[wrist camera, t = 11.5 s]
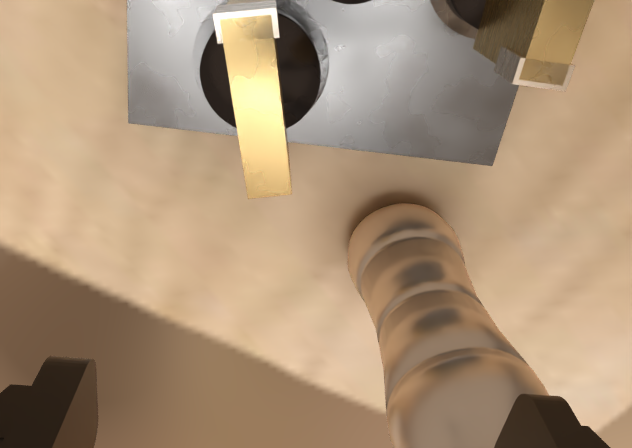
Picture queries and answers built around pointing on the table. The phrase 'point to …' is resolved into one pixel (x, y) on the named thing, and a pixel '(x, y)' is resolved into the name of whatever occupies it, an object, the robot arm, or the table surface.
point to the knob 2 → (527, 37)
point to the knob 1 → (260, 85)
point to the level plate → (338, 76)
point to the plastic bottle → (433, 333)
